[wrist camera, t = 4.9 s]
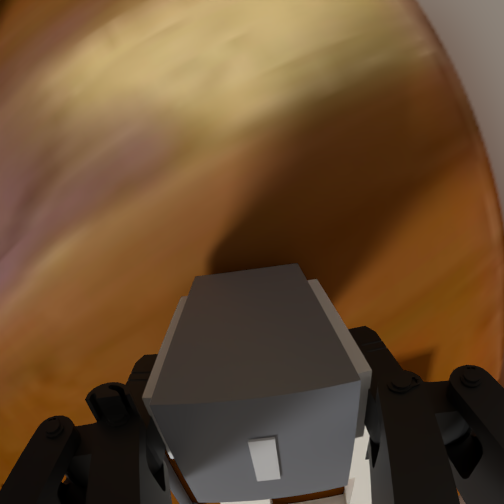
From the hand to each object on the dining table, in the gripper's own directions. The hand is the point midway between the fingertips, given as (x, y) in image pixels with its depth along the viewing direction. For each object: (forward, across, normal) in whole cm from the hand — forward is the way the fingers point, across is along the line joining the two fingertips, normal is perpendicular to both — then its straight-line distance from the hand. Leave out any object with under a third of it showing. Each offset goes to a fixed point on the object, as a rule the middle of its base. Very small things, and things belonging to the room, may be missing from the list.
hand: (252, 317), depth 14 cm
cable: (+1, -8, -14) cm, 16 cm away
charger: (0, 0, 0) cm, 0 cm away
